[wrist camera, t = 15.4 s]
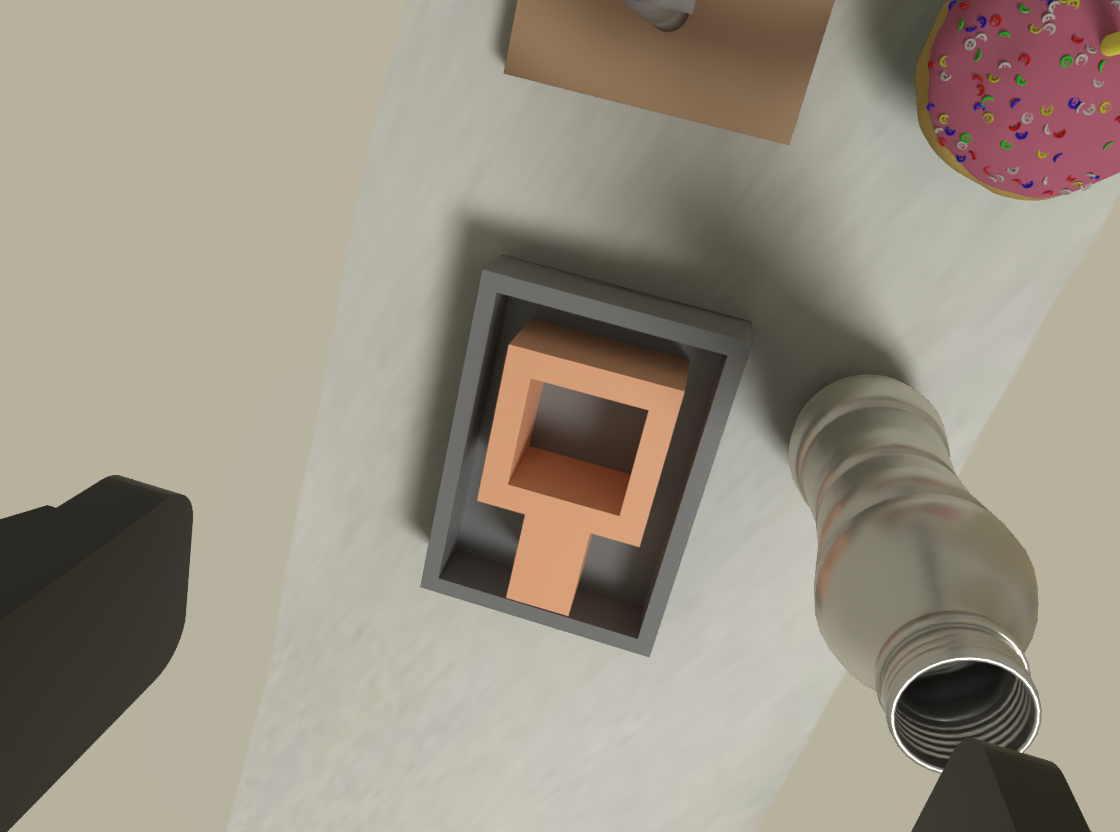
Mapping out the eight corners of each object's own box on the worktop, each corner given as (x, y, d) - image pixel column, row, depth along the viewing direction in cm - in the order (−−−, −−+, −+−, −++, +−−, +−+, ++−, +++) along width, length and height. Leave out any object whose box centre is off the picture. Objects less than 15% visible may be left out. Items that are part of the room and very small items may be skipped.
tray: (502, 254, 41) (482, 269, 37) (750, 321, 40) (752, 342, 36) (441, 552, 47) (420, 586, 44) (655, 617, 46) (649, 657, 42)
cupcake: (1052, -104, 32) (1218, -203, 21) (1183, 79, 33) (1404, 76, 22) (853, 67, 35) (907, 59, 24) (979, 229, 37) (1086, 292, 25)
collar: (531, 318, 41) (508, 344, 37) (689, 359, 40) (684, 391, 36) (485, 538, 45) (460, 584, 41) (626, 579, 45) (615, 630, 40)
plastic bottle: (761, 465, 42) (783, 764, 23) (825, 337, 39) (906, 560, 21) (889, 517, 42) (1014, 860, 23) (962, 391, 39) (1168, 666, 20)
